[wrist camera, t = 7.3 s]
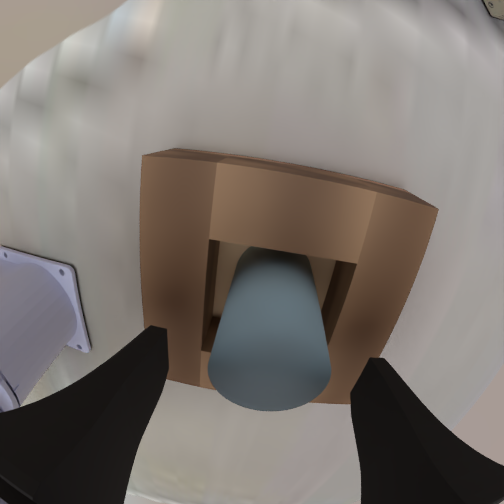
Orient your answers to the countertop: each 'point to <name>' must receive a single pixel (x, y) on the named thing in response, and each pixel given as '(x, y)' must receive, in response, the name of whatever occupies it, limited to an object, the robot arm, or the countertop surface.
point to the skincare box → (495, 8)
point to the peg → (270, 334)
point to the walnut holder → (277, 238)
